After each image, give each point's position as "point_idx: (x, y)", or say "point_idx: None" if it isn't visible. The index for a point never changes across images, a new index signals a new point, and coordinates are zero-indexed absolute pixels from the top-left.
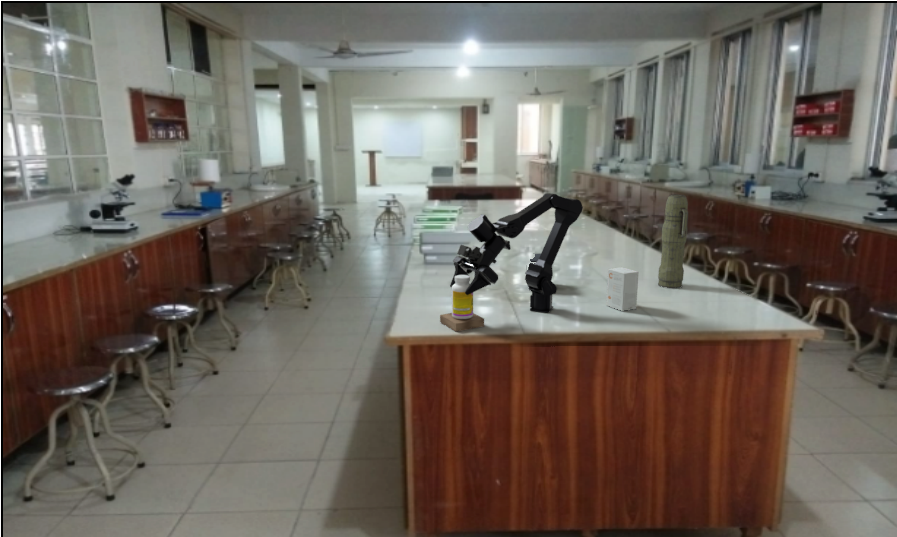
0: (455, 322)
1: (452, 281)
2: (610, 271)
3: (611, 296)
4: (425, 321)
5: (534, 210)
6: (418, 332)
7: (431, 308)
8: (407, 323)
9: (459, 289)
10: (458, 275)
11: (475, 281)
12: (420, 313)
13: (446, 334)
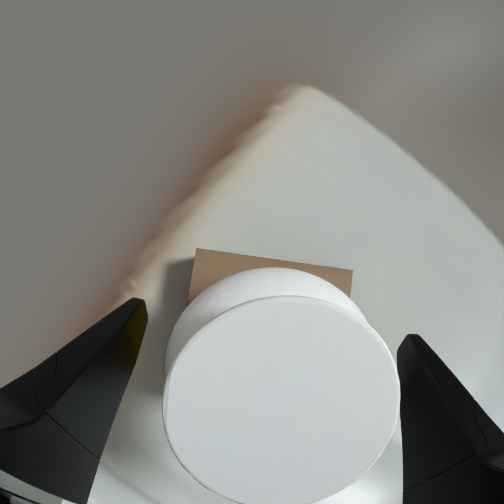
0: (212, 258)
1: (433, 364)
2: None
3: None
4: (384, 235)
5: None
6: (289, 144)
7: (479, 342)
8: (395, 172)
9: (207, 290)
10: (378, 406)
11: (23, 379)
12: (462, 276)
13: (204, 208)
